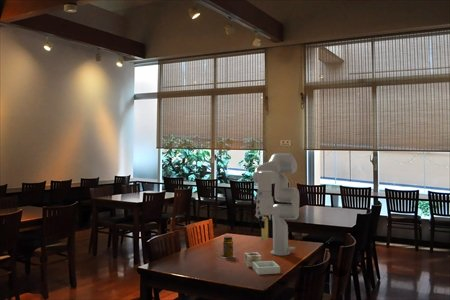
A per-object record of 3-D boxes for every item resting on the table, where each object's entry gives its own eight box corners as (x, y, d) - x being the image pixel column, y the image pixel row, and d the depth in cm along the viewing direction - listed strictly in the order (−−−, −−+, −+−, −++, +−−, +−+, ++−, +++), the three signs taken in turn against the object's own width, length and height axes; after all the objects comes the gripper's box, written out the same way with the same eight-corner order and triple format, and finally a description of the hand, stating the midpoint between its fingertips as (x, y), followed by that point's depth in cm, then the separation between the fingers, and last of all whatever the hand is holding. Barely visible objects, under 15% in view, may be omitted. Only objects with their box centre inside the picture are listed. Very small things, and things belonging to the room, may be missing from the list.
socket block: (257, 262, 232) (257, 252, 233) (261, 266, 225) (261, 255, 225) (244, 263, 231) (244, 252, 231) (247, 267, 223) (247, 256, 223)
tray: (273, 267, 223) (273, 260, 223) (280, 273, 211) (279, 266, 211) (252, 268, 220) (252, 261, 221) (258, 274, 209) (258, 267, 209)
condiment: (235, 256, 247) (235, 237, 247) (224, 258, 242) (224, 238, 242) (229, 254, 253) (229, 235, 253) (218, 256, 248) (217, 237, 248)
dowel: (269, 239, 216) (269, 217, 216) (264, 240, 214) (264, 218, 214) (264, 238, 219) (264, 216, 219) (260, 239, 217) (260, 217, 217)
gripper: (258, 195, 209) (258, 230, 208) (280, 193, 219) (280, 226, 219) (248, 194, 215) (249, 228, 214) (270, 192, 225) (270, 225, 225)
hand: (264, 227), depth 217 cm, fingers closed on dowel, 3 cm apart
